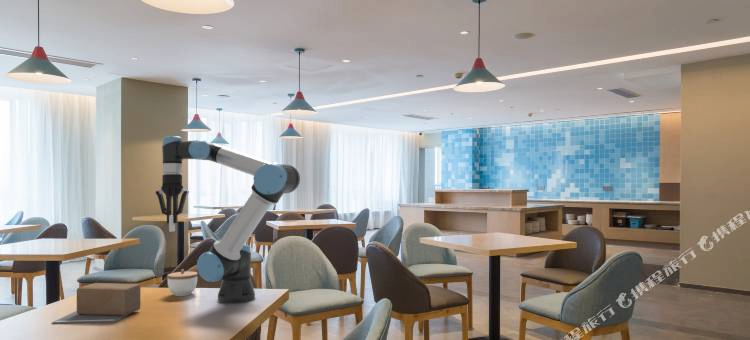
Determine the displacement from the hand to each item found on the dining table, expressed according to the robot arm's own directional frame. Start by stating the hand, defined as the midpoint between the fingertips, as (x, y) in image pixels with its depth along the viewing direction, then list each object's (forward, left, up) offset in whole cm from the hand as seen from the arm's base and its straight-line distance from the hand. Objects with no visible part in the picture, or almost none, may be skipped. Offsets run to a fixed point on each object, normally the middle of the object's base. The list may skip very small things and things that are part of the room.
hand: (172, 231), depth 204 cm
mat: (+21, +19, -29) cm, 41 cm away
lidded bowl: (+1, -17, -30) cm, 34 cm away
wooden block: (+8, +17, -24) cm, 30 cm away
